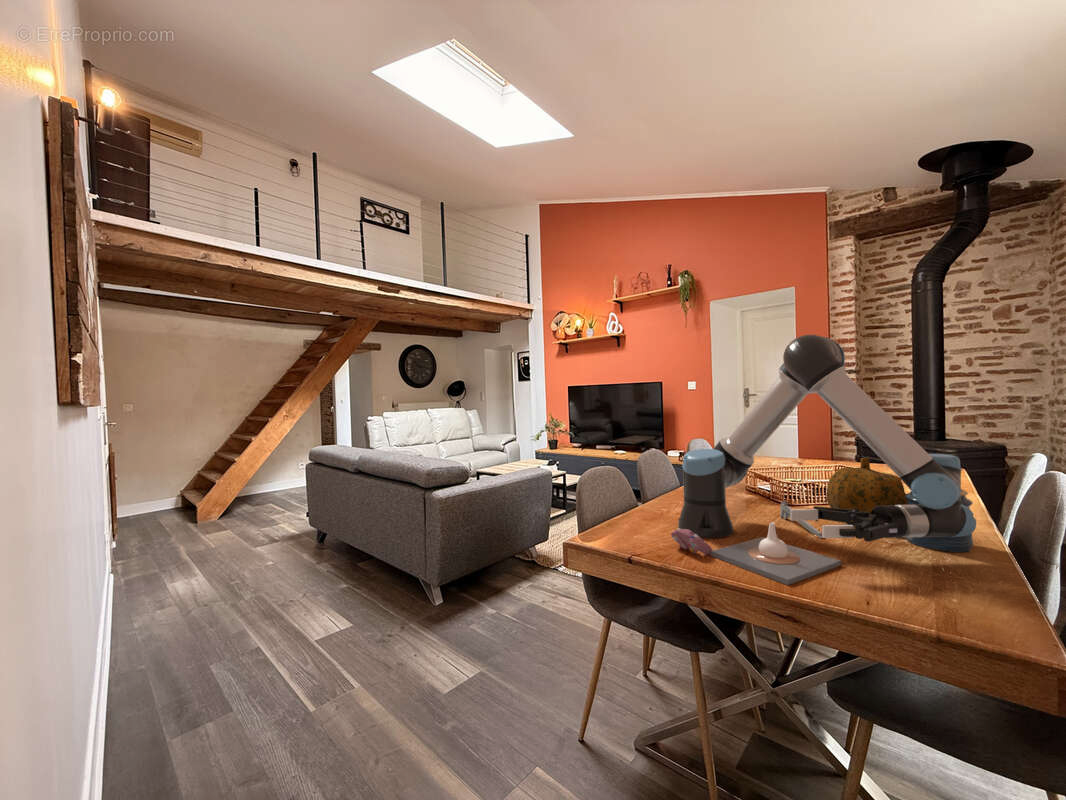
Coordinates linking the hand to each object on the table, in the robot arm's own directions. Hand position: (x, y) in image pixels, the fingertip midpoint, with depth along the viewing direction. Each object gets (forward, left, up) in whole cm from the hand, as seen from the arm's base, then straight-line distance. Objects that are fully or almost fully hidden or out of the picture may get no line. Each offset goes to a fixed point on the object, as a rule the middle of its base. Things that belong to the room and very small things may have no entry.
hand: (805, 522), depth 107 cm
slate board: (-4, -7, -9) cm, 12 cm away
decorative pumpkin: (-8, +44, -9) cm, 46 cm away
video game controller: (-19, -18, -9) cm, 28 cm away
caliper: (-16, +23, -10) cm, 30 cm away
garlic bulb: (-4, -7, -8) cm, 11 cm away
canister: (+11, +38, -9) cm, 41 cm away
